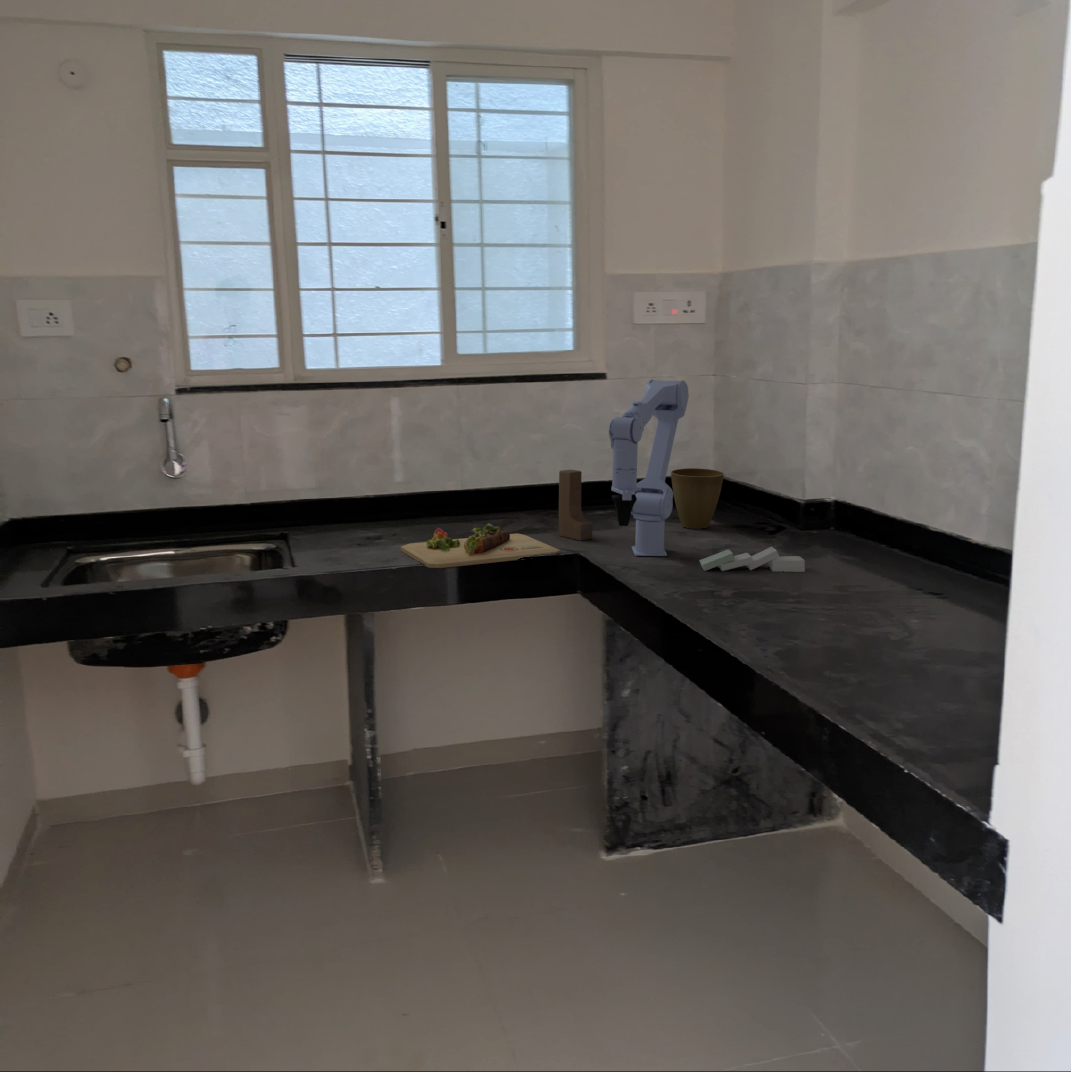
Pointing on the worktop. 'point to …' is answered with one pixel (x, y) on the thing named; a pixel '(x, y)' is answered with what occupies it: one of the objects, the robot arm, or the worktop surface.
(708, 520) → the plant pot
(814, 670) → the worktop surface
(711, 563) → the domino
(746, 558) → the domino
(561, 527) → the wooden block
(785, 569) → the domino
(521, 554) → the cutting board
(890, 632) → the worktop surface
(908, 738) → the worktop surface
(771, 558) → the domino
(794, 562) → the domino
